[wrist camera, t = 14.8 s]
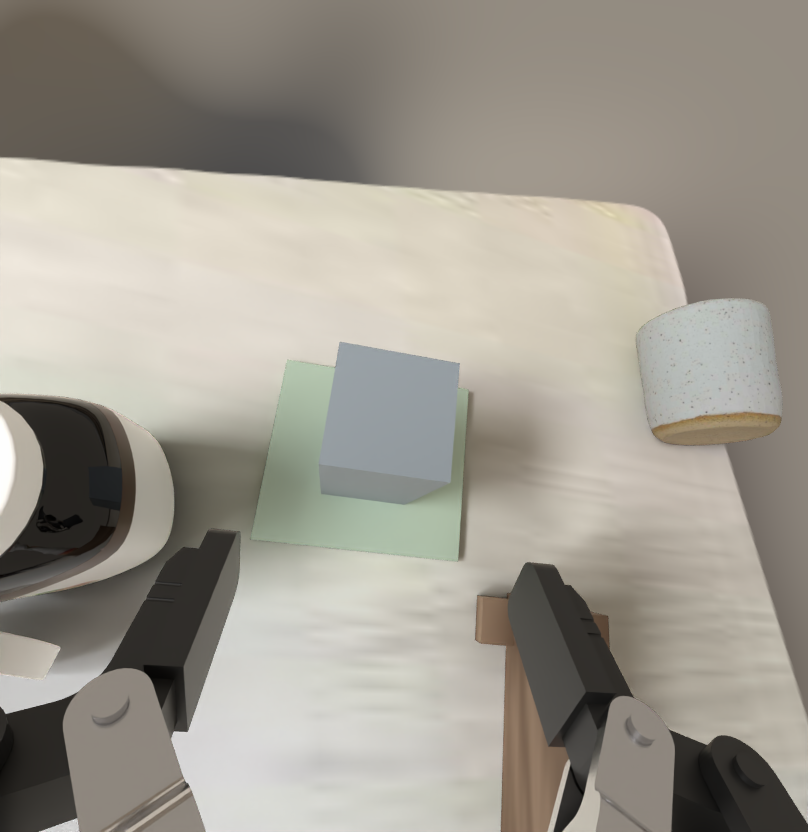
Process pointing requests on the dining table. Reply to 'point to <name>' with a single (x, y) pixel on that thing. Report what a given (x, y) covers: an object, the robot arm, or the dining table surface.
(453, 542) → the sage mat
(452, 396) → the slate block
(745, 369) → the ceramic mug
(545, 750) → the walnut screen
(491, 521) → the dining table surface
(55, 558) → the spread jar
